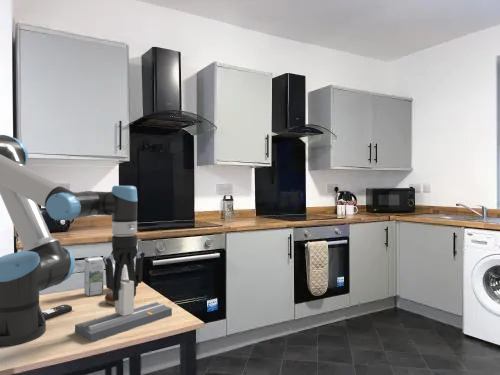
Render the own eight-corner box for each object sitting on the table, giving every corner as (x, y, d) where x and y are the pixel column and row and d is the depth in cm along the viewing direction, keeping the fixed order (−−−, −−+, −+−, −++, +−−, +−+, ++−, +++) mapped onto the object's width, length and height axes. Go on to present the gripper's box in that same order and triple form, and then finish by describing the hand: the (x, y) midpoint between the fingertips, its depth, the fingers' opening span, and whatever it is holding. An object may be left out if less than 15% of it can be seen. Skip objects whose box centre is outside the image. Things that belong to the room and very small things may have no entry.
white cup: (123, 292, 149) (123, 268, 149) (105, 291, 151) (105, 267, 151) (133, 287, 157) (133, 263, 157) (116, 286, 159) (116, 262, 158)
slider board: (74, 332, 110) (74, 321, 110) (154, 308, 131) (154, 299, 131) (91, 342, 104) (91, 330, 104) (171, 315, 125) (171, 305, 125)
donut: (124, 295, 146) (124, 285, 146) (140, 301, 140) (140, 290, 140) (99, 302, 138) (99, 292, 138) (115, 308, 131) (115, 297, 131)
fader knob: (115, 315, 117) (115, 280, 117) (125, 312, 120) (125, 278, 120) (123, 319, 114) (123, 283, 114) (133, 316, 117) (133, 280, 116)
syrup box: (99, 290, 152) (99, 255, 151) (103, 294, 147) (103, 258, 147) (84, 293, 148) (84, 257, 148) (88, 297, 143) (88, 259, 143)
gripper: (105, 238, 108) (105, 318, 108) (154, 233, 120) (153, 304, 121) (93, 236, 113) (93, 312, 113) (141, 230, 125) (140, 299, 126)
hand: (124, 308), depth 117 cm, fingers closed on fader knob, 4 cm apart
